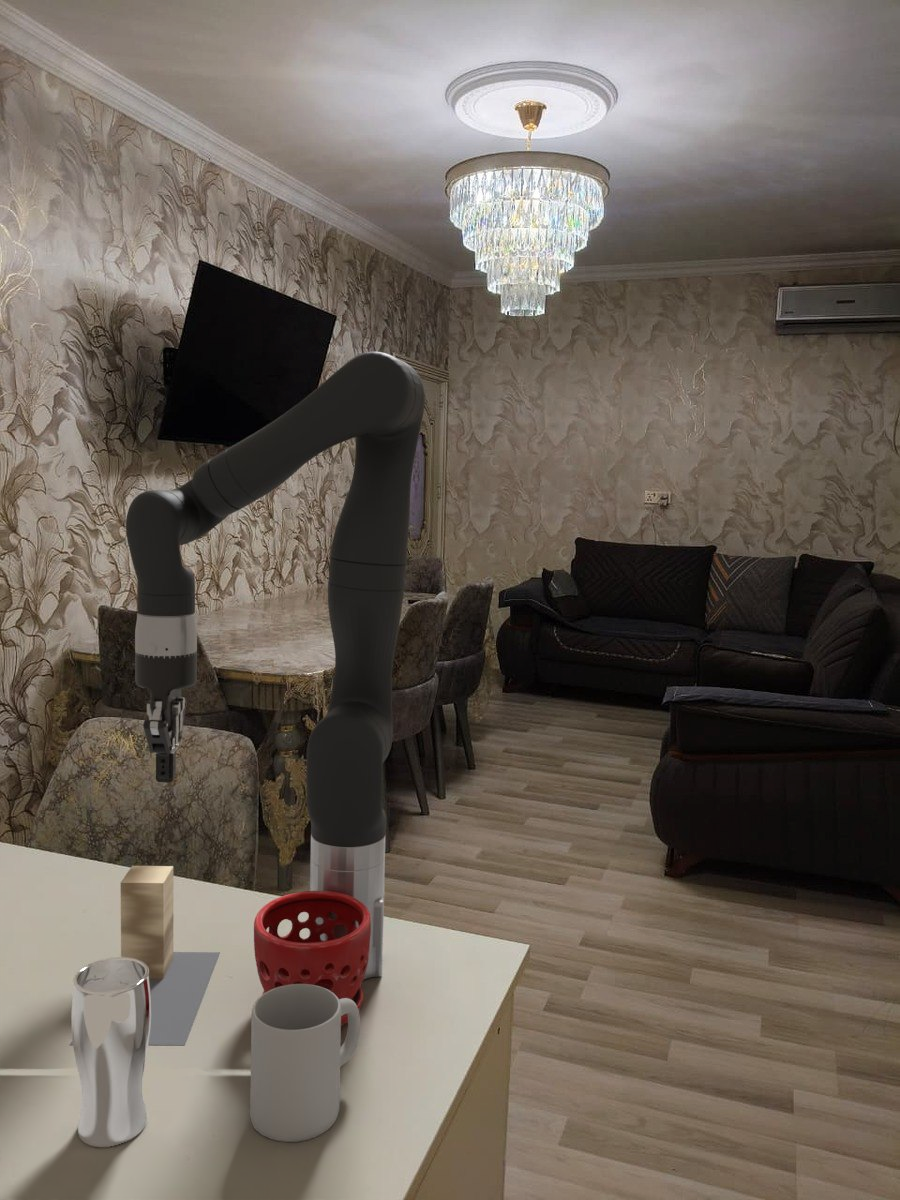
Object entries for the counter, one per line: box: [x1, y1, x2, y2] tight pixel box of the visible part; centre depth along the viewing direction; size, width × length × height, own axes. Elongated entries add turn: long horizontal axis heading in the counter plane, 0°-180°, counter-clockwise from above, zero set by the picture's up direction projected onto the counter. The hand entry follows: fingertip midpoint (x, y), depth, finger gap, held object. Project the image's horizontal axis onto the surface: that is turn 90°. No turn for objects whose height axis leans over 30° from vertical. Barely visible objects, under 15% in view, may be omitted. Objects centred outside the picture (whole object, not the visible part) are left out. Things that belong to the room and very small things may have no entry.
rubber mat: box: [69, 951, 221, 1046], centre depth 111 cm, size 12×20×1 cm, turn 3°
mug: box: [249, 984, 361, 1143], centre depth 92 cm, size 12×8×11 cm
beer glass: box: [70, 956, 151, 1148], centre depth 88 cm, size 7×7×15 cm
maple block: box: [120, 865, 174, 979], centre depth 116 cm, size 5×5×12 cm
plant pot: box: [253, 890, 371, 1027], centre depth 108 cm, size 13×13×12 cm
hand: (165, 780), depth 123 cm, fingers closed
